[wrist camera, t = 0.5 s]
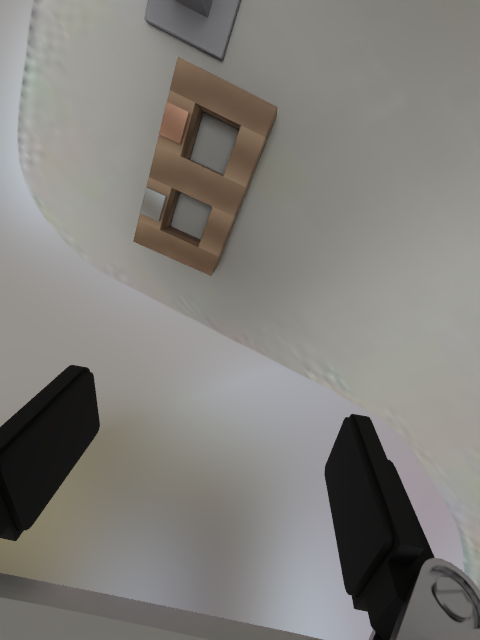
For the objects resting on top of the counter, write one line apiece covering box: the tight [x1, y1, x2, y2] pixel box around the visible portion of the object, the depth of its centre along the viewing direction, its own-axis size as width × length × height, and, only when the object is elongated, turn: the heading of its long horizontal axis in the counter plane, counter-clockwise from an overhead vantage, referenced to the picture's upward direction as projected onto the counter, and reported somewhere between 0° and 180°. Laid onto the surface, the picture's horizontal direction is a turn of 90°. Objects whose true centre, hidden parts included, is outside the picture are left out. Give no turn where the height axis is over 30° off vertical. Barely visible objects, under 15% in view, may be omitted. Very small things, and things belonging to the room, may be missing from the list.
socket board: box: [134, 57, 277, 276], centre depth 31 cm, size 18×10×4 cm, turn 157°
